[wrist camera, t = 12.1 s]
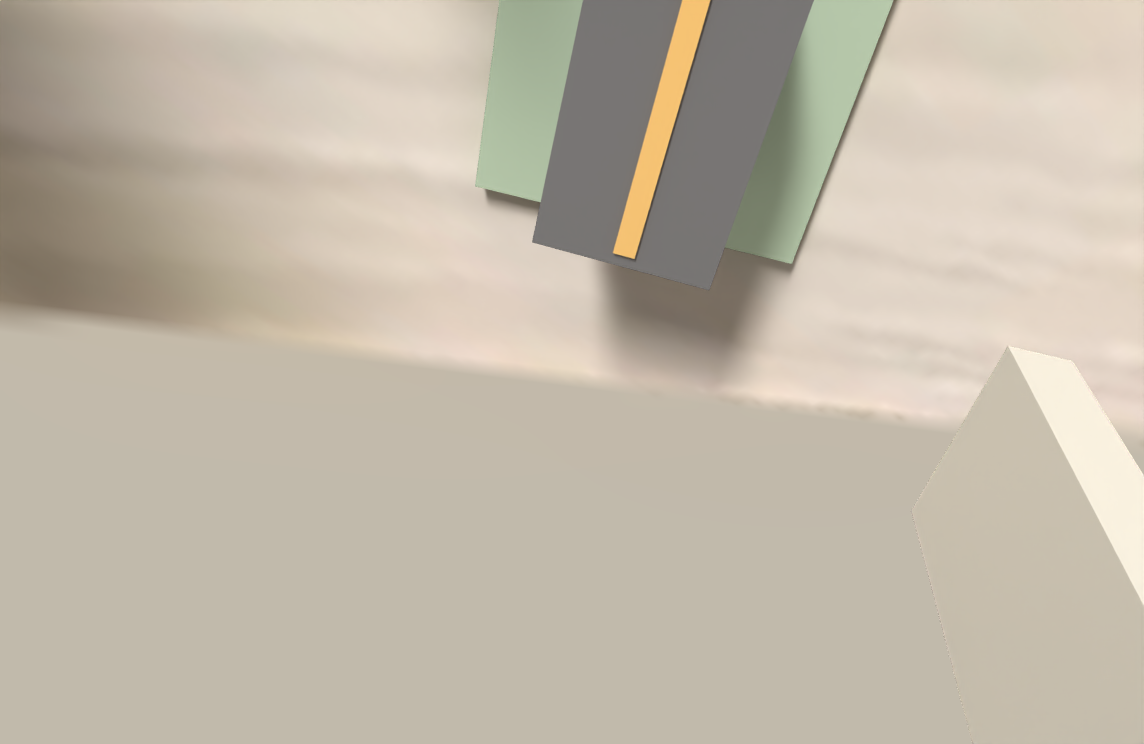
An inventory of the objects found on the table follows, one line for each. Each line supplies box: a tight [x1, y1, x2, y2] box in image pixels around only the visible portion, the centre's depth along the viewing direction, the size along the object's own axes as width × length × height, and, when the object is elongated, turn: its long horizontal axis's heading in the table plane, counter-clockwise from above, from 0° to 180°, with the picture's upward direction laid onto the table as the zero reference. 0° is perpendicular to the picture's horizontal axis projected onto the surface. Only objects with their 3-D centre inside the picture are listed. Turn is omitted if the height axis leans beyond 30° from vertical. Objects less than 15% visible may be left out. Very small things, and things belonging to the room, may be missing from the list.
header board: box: [475, 0, 893, 264], centre depth 26 cm, size 13×12×4 cm
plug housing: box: [532, 0, 814, 290], centre depth 24 cm, size 8×5×8 cm, turn 168°
